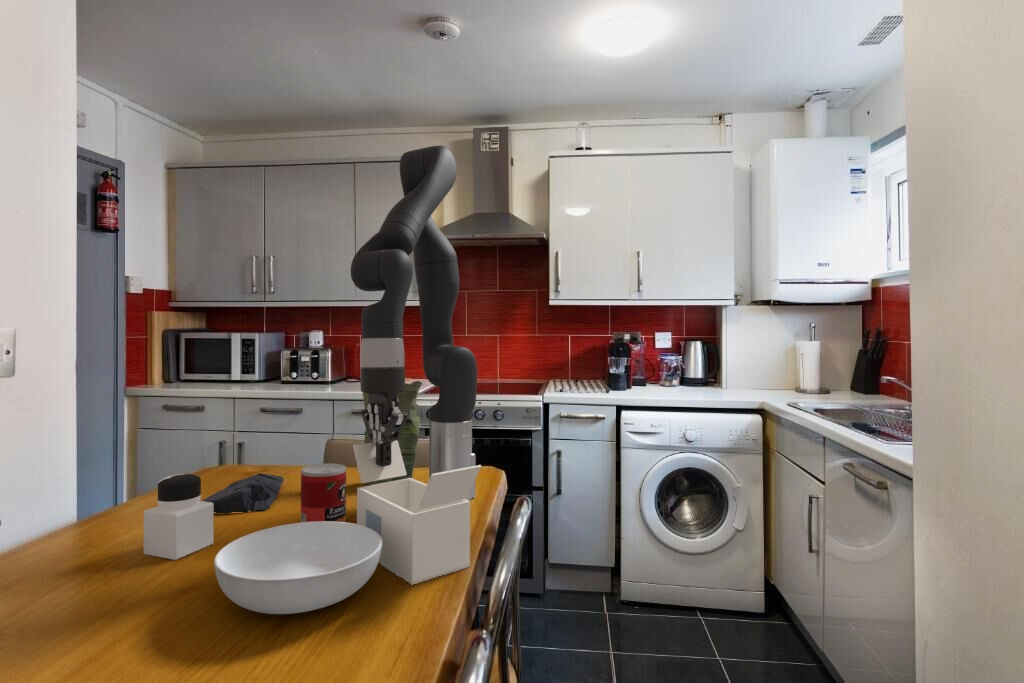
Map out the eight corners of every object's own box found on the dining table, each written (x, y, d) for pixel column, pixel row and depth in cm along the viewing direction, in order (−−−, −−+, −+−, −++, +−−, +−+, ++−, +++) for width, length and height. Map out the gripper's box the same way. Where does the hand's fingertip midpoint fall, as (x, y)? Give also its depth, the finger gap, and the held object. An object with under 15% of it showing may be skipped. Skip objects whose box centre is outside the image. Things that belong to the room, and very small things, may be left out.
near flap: (417, 508, 76) (418, 509, 76) (431, 473, 73) (432, 475, 73) (465, 497, 81) (466, 498, 81) (480, 464, 79) (481, 466, 78)
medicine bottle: (214, 544, 90) (214, 473, 90) (175, 561, 83) (175, 484, 83) (182, 539, 92) (183, 469, 92) (142, 554, 86) (142, 479, 86)
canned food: (332, 537, 94) (332, 474, 94) (291, 533, 96) (291, 471, 96) (353, 522, 101) (354, 464, 101) (315, 519, 103) (315, 462, 103)
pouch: (356, 484, 128) (357, 379, 128) (397, 475, 137) (397, 377, 137) (385, 493, 120) (385, 382, 120) (426, 483, 129) (426, 379, 129)
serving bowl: (386, 624, 65) (386, 568, 65) (193, 651, 60) (193, 589, 60) (378, 557, 85) (379, 514, 85) (233, 572, 80) (233, 526, 79)
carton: (409, 534, 96) (410, 477, 96) (469, 566, 82) (470, 501, 82) (356, 548, 89) (356, 487, 89) (411, 586, 75) (412, 515, 75)
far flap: (406, 474, 95) (406, 475, 95) (397, 439, 97) (396, 440, 98) (362, 482, 89) (361, 483, 90) (353, 445, 92) (352, 445, 92)
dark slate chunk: (295, 485, 128) (295, 465, 128) (266, 515, 107) (266, 491, 107) (227, 487, 126) (227, 467, 126) (183, 518, 105) (183, 494, 105)
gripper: (421, 364, 90) (422, 467, 90) (384, 364, 100) (385, 457, 100) (380, 365, 86) (381, 474, 85) (346, 365, 96) (346, 462, 95)
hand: (383, 465), depth 93 cm, fingers closed
